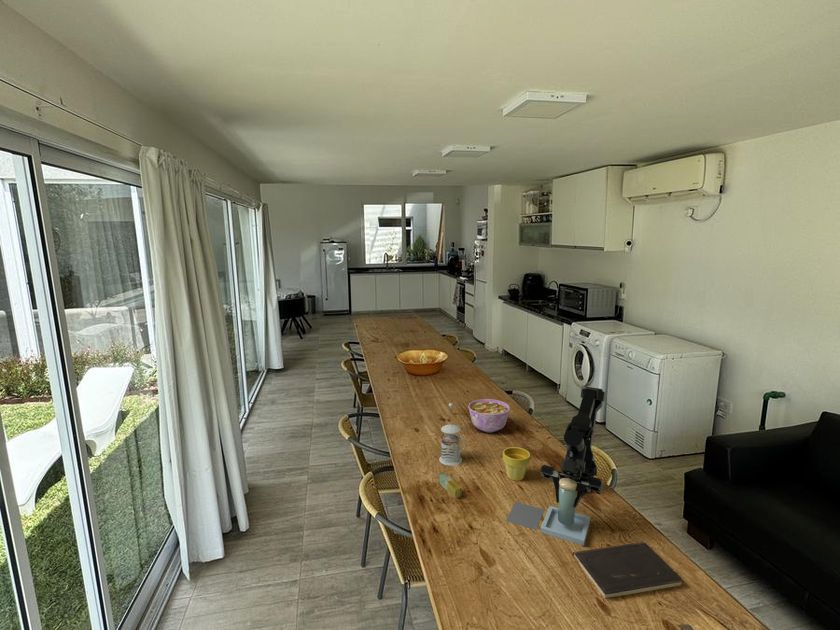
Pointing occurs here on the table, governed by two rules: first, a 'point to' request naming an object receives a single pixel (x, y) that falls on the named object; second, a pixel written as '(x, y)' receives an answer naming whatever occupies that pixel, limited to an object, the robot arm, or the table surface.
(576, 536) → the dish
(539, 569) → the table surface
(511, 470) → the plant pot
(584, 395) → the robot arm
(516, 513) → the mat
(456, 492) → the medication box
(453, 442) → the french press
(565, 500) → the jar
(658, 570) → the hardcover book
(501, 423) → the bowl of food
